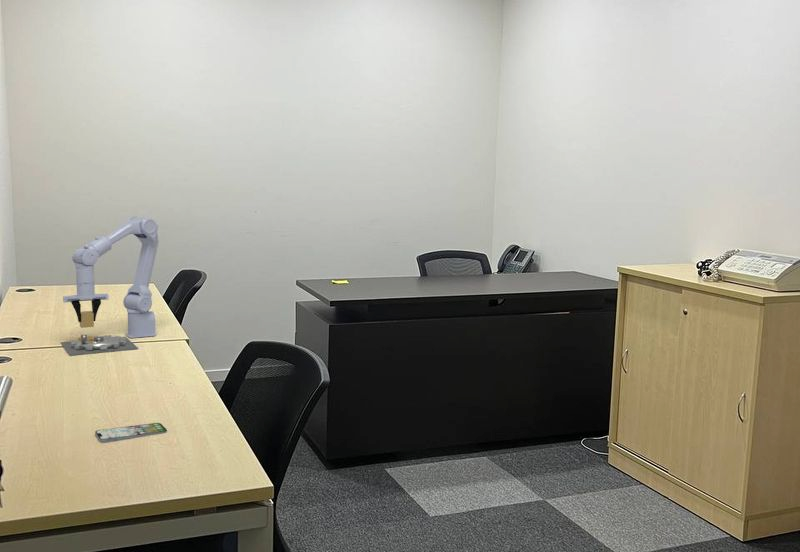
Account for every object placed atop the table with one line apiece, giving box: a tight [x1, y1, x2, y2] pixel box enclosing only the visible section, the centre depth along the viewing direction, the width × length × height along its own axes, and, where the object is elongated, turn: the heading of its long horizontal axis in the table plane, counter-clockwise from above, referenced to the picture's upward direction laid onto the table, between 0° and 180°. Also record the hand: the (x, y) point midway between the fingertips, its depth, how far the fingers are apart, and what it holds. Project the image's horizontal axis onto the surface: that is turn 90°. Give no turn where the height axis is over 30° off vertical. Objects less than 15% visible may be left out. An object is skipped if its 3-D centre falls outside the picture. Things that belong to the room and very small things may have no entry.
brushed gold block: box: [79, 310, 95, 329], centre depth 268 cm, size 4×4×5 cm
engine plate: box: [60, 336, 139, 357], centre depth 267 cm, size 22×21×1 cm
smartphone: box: [94, 422, 168, 444], centre depth 179 cm, size 7×1×15 cm
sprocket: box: [70, 334, 127, 350], centre depth 266 cm, size 18×18×4 cm
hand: (86, 321), depth 268 cm, fingers closed on brushed gold block, 4 cm apart
